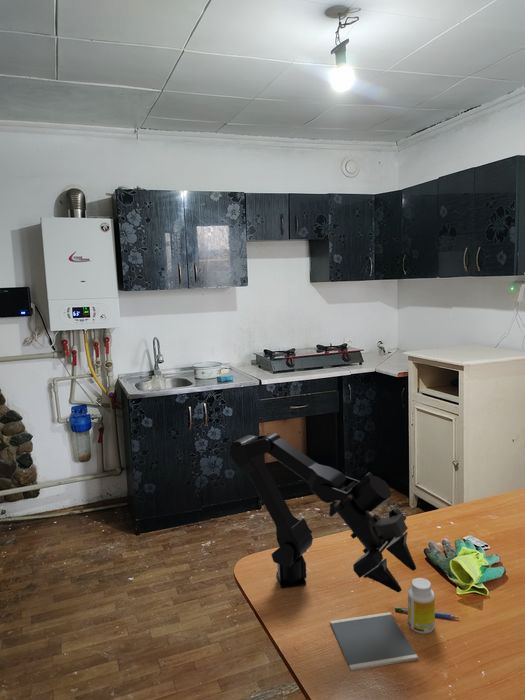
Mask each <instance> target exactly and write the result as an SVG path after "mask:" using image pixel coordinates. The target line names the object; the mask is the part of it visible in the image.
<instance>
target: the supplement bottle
mask: <svg viewBox="0 0 525 700" xmlns="http://www.w3.org/2000/svg"><path fill="white" fill-rule="evenodd" d="M435 597H436V596H435V592H434V591H433V589H432V583H431V582H430V581H429V580H428V579H426V578H423V577H422V578H421V577H417V578H414V579H412V581H411V586H410V587H409V588H408V590H407V624H408V627H409V628H410V629H411V630H413V631H414V632H416V633H419V634H429V633H431V632H432V631H433V630H434V629H435V625H436V624H435V620H436V619H435V617H436V613H435V612H436V607H435V605H436V603H435V602H436V598H435Z"/></svg>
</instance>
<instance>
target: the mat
mask: <svg viewBox="0 0 525 700" xmlns="http://www.w3.org/2000/svg"><path fill="white" fill-rule="evenodd" d="M329 622H330V623H329V624H330V626H331V628H332V631H333V634H334V635H335V638H336V640H337V642H338V644H339V647H340V650H341V652H342V654H343V656H344V659H345V661H346V663H347V665H348V668H349V670H350V671H351V672H352V671H353V672H354V671H358V670H364V669H370V668H374V667H375V668H376V667H382V666H388V665H389V666H390V665H394V664H401V663H405V662H411V661H418V660H419V656H418V654H417V653H416V652H415V650H414V649H413V647H412V646H411V644H410V642H409V640H408V638H407V637H406V636H405V634H404V632H403V630H402V629H401V627H400V626H399V625H398V622H397V621H396V620H395V618H394V616H393V615H392V612H390V611H389V612H383V613H375V614H369V615H362V616H361V615H360V616H355V617H349V618H342V619H336V620H330V621H329Z"/></svg>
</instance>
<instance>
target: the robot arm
mask: <svg viewBox="0 0 525 700" xmlns="http://www.w3.org/2000/svg"><path fill="white" fill-rule="evenodd" d="M266 454H269V455H270V456H272V457H273V458H274V459H275V460H277V461H278V462H279V463H281V464H282V465H284V466H285V467H287V469H289V470H290V471H292V472H294V473H295V474H296V475H297V476H298V477H300V478H302V479H303V480H304V481H305V482H306V484H307V485H308V487H309V489H310V491H311V492H312V493H313V494H314V495H315V496H316V497H317V498H318V499H319V500H321V501H322V502H324V503H326V504H329V513H328V514H329V517H331V518H332V517H333V516H334V515H335V514H338V516H340V518H341V520H343V522H344V523H345V524H346V525H347V527H348V528H349V529H350V531H351V532H352V533H351V534H350V537H351V538H352V539H353V540H354V539H355V538H357V540H358V541H359V542H360V544H362V546H363V547H364V548H363V550H362V552H363V553H364V554H362V555H361V556H360V557H359V558H358V559H357V560H356V561H355V563H353V567H352V570H353V572H354V573H355V574H356V576H358V578H360V579H361V578H362V577H363V578H364V579H367V578H368V579H371V580H373V581H375V582H377V583H379V584H381V585H383V586H384V587H387V588H389V589H390V590H393V591H394V592H396V593H401V592H402V590H403V589H402V587H401V585H400V584H399V582H398V581H397V579H396V578H395V576H394V575H393V573H391V571H390V569H389V568H388V561H387V558H386V557H385V558H383V557H384V556H383V554H382V553H383V552H384V551H385V550H387V551H388V552H389V553H390V554H391V555H392V556H394V557H395V558H396V559H397V560H399V561H400V562H401V563H402V564H403V565H404V566H405V567H407V568H408V569H410V571H413V572H414V571H416V570H417V566H416V564H415V560H414V559H413V556H412V555H411V552H410V550H409V547H408V544H407V538H408V534H409V533H408V531H407V530H408V528H409V527H408V526H407V524H406V520H407V516H406V515H404V513H403V512H402V511H400V509H399V508H398V507H396V508H392V509H391V510H389V513H388V515H387V516H385V518H381V517H380V516H379V514H376V513H375V514H373V515H372V514H371V513H370V512H373V511H374V510H376V509H377V508H378V507H380V506H381V505H383V503H384V502H386V501H387V500H389V499H390V498H391V497H392V491H391V488H390V486H389V485H388V483H387V482H386V481H385V480H384V479H382V478H381V477H379V476H376V475H373V474H372V473H371V472H369V471H368V473H367V474H365V475H364V476H363V477H362V479H360V480H358V479H355V478H353V477H350V476H346V475H345V474H344V473H343V472H341V471H339V470H338V469H336V468H334V467H331V466H329V465H323V464H319V463H318V462H316V461H315V460H313V459H311V457H309V456H307V455H305V453H303V452H301V451H300V450H299V449H297V448H295V446H293V445H291V444H290V443H288V441H286V440H284V439H283V438H282V437H281V435H280V434H278V433H274V432H273V433H269V434H262V435H258V436H256V435H253V434H248V435H245V436H243V437H241V438H239V439H237V440H235V441H233V442H232V443H231V444H230V446H229V450H228V455H229V456H230V458H231V460H232V461H233V462H234V464H235V466H236V467H237V468H238V469H240V471H242V472H244V473H245V474H247V475H248V477H249V479H250V480H251V482H252V485H253V486H254V487H255V489H256V491H257V494H258V495H259V497H260V499H261V501H262V503H263V505H264V507H265V508H266V510H267V511H268V514H269V516H270V517H271V519H272V521H273V523H274V526H275V528H276V529H275V535H276V536H275V537H276V541H277V543H278V548H277V549H276V550H274V551H273V552H272V553H271V557H272V560H273V562H274V563H275V564H277V571H276V576H277V580H278V582H279V586H280V588H282V589H285V588H291V587H292V588H293V587H297V586H305V585H307V581H306V579H307V562H306V560H305V558H304V556H303V555H304V554H305V553H306V552H307V551H308V549H310V548H311V546H312V544H313V541H314V539H313V535H312V533H313V531H312V530H311V529H310V527H309V525H308V524H307V521H306V519H305V518H302V519H298V518H297V517H295V516H294V514H292V511H291V510H290V508H289V506H288V504H287V503H286V501H285V499H284V496H283V495H282V493H281V491H280V490H279V488H278V486H277V484H276V482H275V480H274V479H273V477H272V474H271V473H270V471H269V469H268V467H267V466H266Z"/></svg>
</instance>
